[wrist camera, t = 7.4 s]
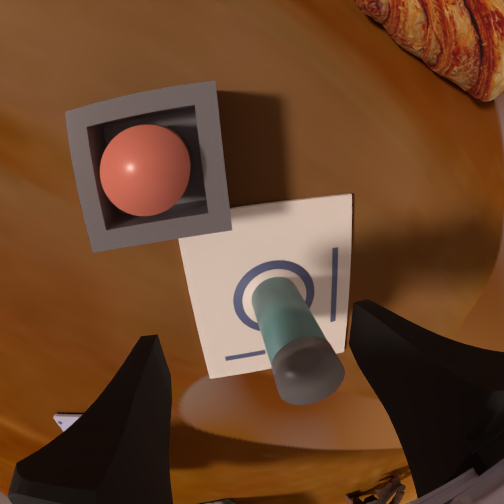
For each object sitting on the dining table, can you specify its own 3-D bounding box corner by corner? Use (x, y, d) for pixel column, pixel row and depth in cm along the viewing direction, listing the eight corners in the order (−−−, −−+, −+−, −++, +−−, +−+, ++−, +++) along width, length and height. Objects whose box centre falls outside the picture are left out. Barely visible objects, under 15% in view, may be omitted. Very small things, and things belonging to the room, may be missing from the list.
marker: (299, 313, 22) (341, 395, 15) (253, 322, 22) (279, 410, 14) (298, 272, 21) (347, 350, 14) (248, 280, 20) (277, 366, 13)
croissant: (495, 45, 20) (539, 11, 12) (533, 130, 19) (590, 102, 11) (315, -13, 16) (351, -92, 9) (355, 91, 16) (430, 1, 8)
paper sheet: (342, 349, 25) (344, 352, 25) (209, 376, 24) (210, 379, 23) (349, 193, 20) (352, 194, 19) (175, 216, 18) (174, 217, 18)
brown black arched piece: (337, 490, 40) (372, 511, 33) (374, 455, 44) (410, 471, 37) (346, 517, 42) (377, 535, 35) (379, 486, 46) (410, 501, 39)
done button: (196, 195, 16) (196, 208, 14) (121, 208, 16) (109, 223, 13) (185, 118, 14) (184, 117, 12) (108, 133, 14) (93, 135, 12)
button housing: (225, 208, 19) (232, 230, 15) (111, 227, 18) (93, 252, 14) (211, 90, 16) (215, 80, 12) (91, 113, 15) (64, 111, 11)
